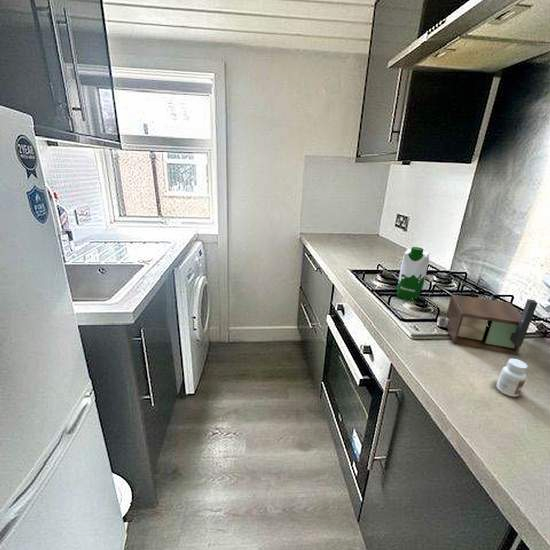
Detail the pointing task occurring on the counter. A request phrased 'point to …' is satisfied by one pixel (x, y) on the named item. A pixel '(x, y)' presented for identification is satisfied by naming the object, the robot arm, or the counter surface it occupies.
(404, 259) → the milk carton
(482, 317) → the cupboard
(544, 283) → the robot arm
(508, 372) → the pill bottle
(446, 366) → the counter surface
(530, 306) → the sliding door
